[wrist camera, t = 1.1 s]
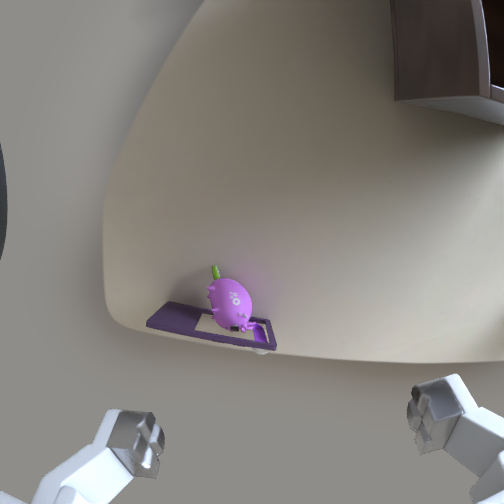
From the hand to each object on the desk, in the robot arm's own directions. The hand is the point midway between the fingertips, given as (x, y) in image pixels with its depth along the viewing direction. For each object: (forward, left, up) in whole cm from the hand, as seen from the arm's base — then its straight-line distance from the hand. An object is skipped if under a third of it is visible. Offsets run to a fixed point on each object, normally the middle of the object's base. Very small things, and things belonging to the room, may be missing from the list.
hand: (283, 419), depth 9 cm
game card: (-4, -5, -17) cm, 19 cm away
